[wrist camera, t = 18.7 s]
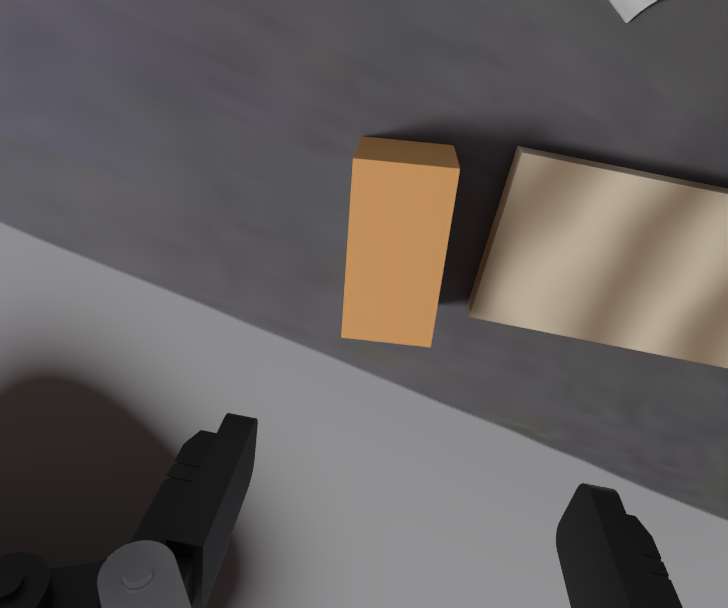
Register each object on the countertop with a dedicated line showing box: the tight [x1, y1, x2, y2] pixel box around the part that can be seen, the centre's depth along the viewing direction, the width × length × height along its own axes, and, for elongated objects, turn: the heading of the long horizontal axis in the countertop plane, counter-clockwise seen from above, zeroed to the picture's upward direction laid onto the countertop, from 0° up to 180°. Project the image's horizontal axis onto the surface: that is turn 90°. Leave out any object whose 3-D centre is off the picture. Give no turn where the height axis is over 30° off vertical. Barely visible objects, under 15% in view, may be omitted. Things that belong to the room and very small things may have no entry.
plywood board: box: [467, 146, 728, 368], centre depth 31 cm, size 17×10×2 cm, turn 80°
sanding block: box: [341, 136, 460, 347], centre depth 30 cm, size 5×10×5 cm, turn 175°
